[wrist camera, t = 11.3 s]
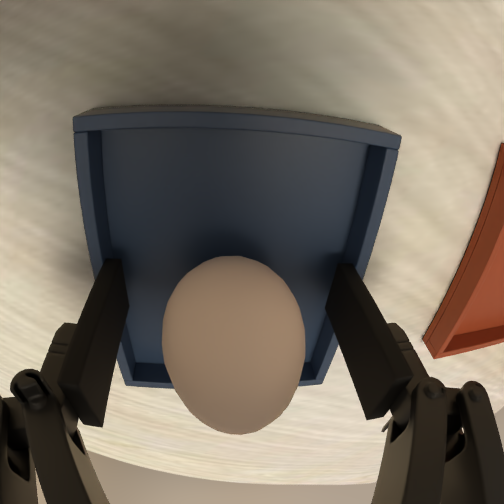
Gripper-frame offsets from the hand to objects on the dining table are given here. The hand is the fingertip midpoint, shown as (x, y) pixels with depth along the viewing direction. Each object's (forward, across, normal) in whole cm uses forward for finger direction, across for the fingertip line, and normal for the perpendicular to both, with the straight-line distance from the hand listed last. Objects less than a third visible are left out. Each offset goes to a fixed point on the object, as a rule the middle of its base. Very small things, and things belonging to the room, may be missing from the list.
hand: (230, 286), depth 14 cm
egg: (+1, 0, 0) cm, 1 cm away
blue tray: (+2, 0, 0) cm, 2 cm away
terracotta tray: (+2, +21, +1) cm, 21 cm away
